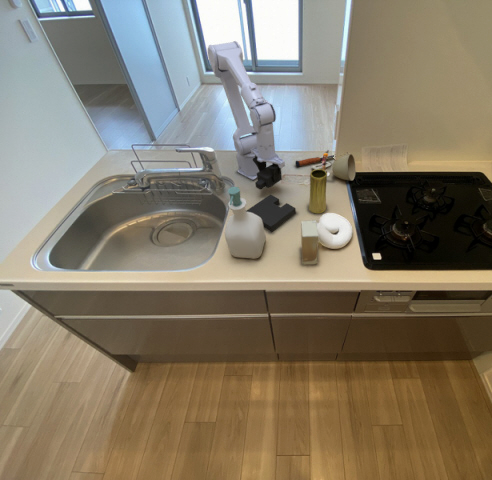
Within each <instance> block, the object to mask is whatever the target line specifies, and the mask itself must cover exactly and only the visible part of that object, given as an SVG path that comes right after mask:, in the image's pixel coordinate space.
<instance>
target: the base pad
mask: <svg viewBox="0 0 492 480" xmlns="http://www.w3.org/2000/svg"><path fill="white" fill-rule="evenodd" d="M246 212H251V213H253V214H255V215H257V216H259V217H260V218H261V219H262V222H263V226H264V229H266V230H267V231H269V232H271V233H273V232H274V231H276V230H277V229H278V228H279V227H281V226H282V225H284V223H286V222H287V221H288V220H289V219H291V218H292V217H293V216H294V215H296V213H297V209H296V207H294V206H293V205H291V204H289V203H288V202H286V203H284V204H283V205H282V206H280V199H279V198H278V197H276V196H274V195H272V194H269V195H267V196H265V197H264V198H262V199H261V200H259V201H258V202H257V203H256V204H254V205H253V206H251V207H249V208H247V209H246Z"/></svg>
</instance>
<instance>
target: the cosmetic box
mask: <svg viewBox="0 0 492 480" xmlns="http://www.w3.org/2000/svg"><path fill="white" fill-rule="evenodd" d="M317 223H318V222H317V220H315V219H314V220H313V219H312V220H301V221H300V224H301V225H300V234H301V235H300V239H301V240H300V241H301V261H302V265H317V264H318V252H319V251H318V250H319V241H318V229H317Z"/></svg>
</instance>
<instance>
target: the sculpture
mask: <svg viewBox="0 0 492 480" xmlns="http://www.w3.org/2000/svg"><path fill="white" fill-rule="evenodd" d="M317 229H318V243H320V244H321V245H322V246H324V247H325V248H328V249H333V250H337V249H341V248H344V247H345V246H346V245H347V244H348V243H349V242H351V240H352V237H353V234H354V233H353V231H354V230H353V226H352V224H351V222H350V221H349V220H348V219H347V218H346V217H344V216H342V215H340V214H338V213H335V212H326V213H324V214H322V215H321V216H320V218H319V219H318V222H317Z"/></svg>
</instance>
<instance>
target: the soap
mask: <svg viewBox="0 0 492 480" xmlns="http://www.w3.org/2000/svg"><path fill="white" fill-rule="evenodd" d="M325 165H326V166H325V168H329V167H330V166H332V165H333V163H332V162H330V161H326V164H325ZM310 168H311V169H313V170H315V169H322V162H320V163H319V162H318V163H317V164H311V165H310Z"/></svg>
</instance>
